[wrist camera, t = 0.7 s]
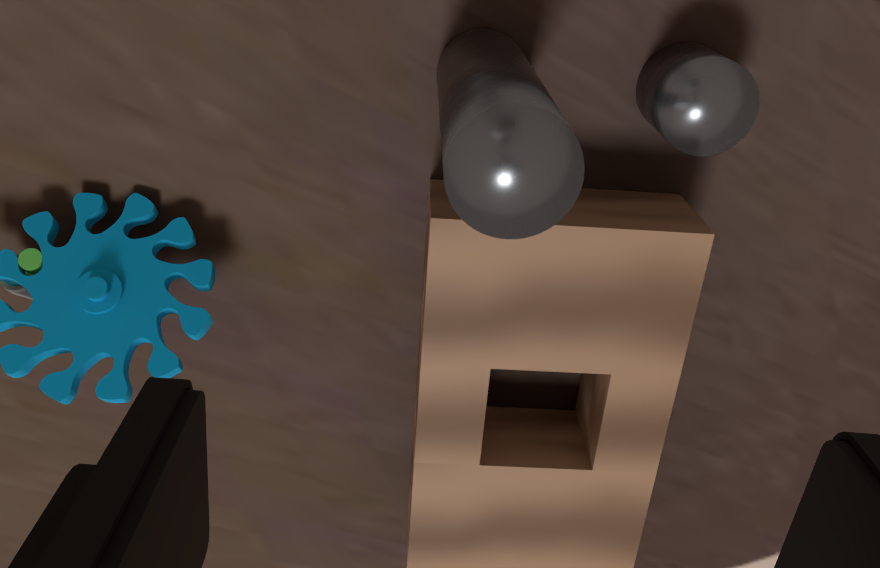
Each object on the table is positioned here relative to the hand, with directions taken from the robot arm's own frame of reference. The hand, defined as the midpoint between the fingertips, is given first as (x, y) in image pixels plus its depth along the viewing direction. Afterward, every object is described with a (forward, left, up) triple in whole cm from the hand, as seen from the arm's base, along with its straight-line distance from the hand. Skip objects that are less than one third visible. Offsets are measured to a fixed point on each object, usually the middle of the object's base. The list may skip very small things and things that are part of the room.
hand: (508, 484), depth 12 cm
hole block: (+14, +5, -26) cm, 30 cm away
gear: (+9, -16, -26) cm, 32 cm away
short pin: (-1, +10, -26) cm, 28 cm away
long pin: (-1, +1, -26) cm, 26 cm away
